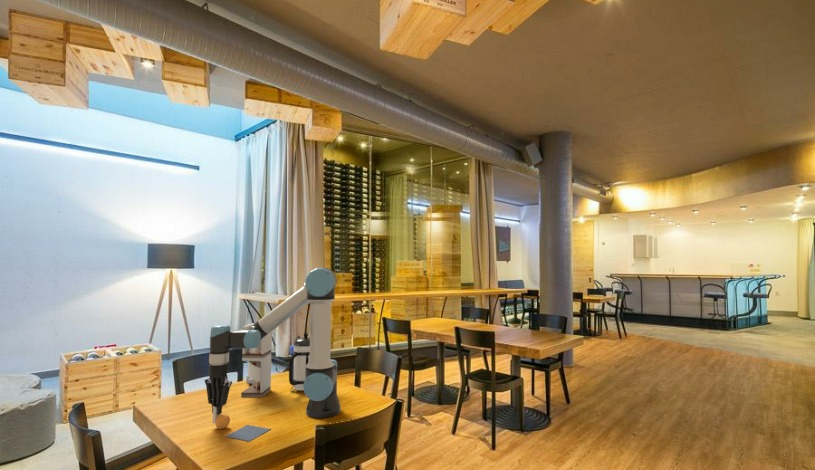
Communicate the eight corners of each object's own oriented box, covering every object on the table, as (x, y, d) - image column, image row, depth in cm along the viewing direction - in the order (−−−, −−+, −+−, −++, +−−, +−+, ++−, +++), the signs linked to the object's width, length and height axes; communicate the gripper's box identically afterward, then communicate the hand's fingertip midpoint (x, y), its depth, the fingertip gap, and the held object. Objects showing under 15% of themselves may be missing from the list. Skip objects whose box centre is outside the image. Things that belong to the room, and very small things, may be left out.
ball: (228, 428, 164) (235, 418, 164) (218, 434, 159) (224, 423, 158) (220, 418, 166) (227, 409, 165) (209, 423, 161) (216, 413, 160)
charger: (241, 386, 220) (252, 379, 235) (257, 386, 220) (268, 379, 235) (241, 378, 220) (253, 371, 235) (258, 378, 220) (268, 371, 235)
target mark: (271, 429, 161) (271, 429, 161) (249, 441, 150) (249, 441, 150) (247, 425, 165) (247, 424, 165) (224, 436, 154) (224, 436, 154)
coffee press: (288, 387, 217) (289, 331, 219) (318, 385, 222) (318, 330, 224) (288, 397, 200) (289, 336, 203) (321, 394, 205) (321, 335, 208)
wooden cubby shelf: (250, 389, 213) (252, 323, 216) (270, 390, 213) (272, 323, 216) (241, 396, 202) (243, 326, 205) (261, 397, 202) (263, 326, 204)
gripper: (238, 362, 167) (235, 421, 165) (214, 359, 171) (212, 416, 170) (223, 366, 160) (221, 427, 158) (199, 363, 164) (197, 422, 163)
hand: (216, 421), depth 164 cm, fingers closed
